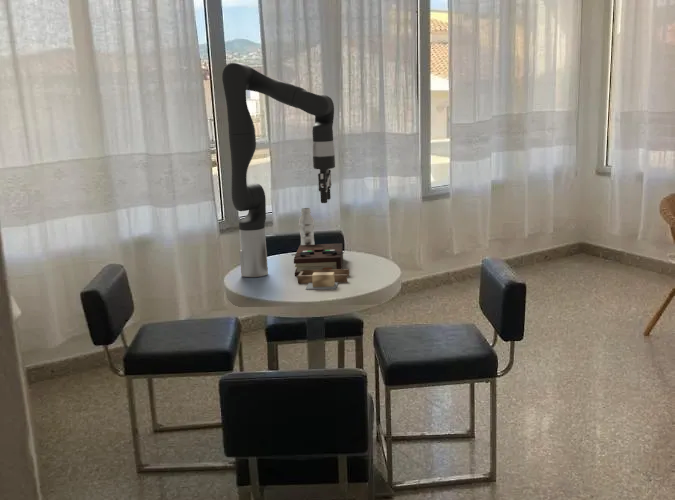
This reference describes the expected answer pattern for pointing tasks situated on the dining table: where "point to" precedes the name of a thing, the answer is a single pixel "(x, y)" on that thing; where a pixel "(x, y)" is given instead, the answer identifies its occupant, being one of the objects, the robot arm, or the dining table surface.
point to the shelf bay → (339, 274)
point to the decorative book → (318, 257)
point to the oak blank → (323, 279)
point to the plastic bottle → (306, 227)
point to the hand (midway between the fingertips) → (325, 201)
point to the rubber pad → (310, 287)
